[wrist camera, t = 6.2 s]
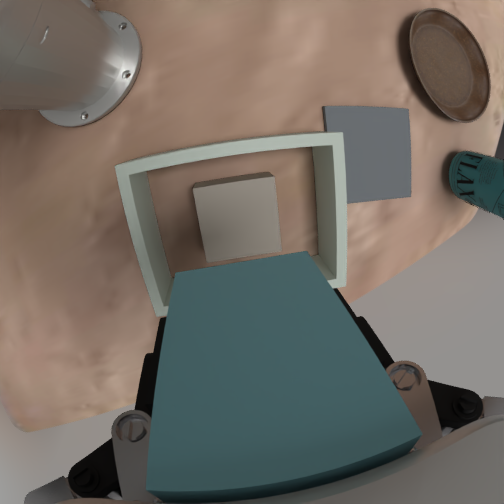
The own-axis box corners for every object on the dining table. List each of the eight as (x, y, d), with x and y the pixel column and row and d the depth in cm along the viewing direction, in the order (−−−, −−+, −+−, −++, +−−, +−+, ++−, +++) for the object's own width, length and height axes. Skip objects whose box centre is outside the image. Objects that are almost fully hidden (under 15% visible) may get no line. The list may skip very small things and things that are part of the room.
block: (175, 272, 11) (145, 490, 3) (306, 250, 11) (422, 434, 4) (203, 363, 13) (211, 529, 6) (308, 345, 13) (368, 498, 6)
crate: (134, 158, 25) (114, 165, 20) (320, 131, 26) (342, 132, 21) (165, 287, 30) (156, 316, 25) (327, 261, 31) (345, 286, 26)
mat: (322, 106, 25) (324, 106, 24) (405, 109, 25) (408, 108, 25) (330, 203, 29) (332, 205, 28) (407, 195, 29) (410, 196, 29)
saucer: (489, 98, 25) (503, 99, 22) (434, 140, 27) (449, 143, 25) (443, 4, 19) (455, 0, 17) (373, 28, 21) (386, 22, 19)
